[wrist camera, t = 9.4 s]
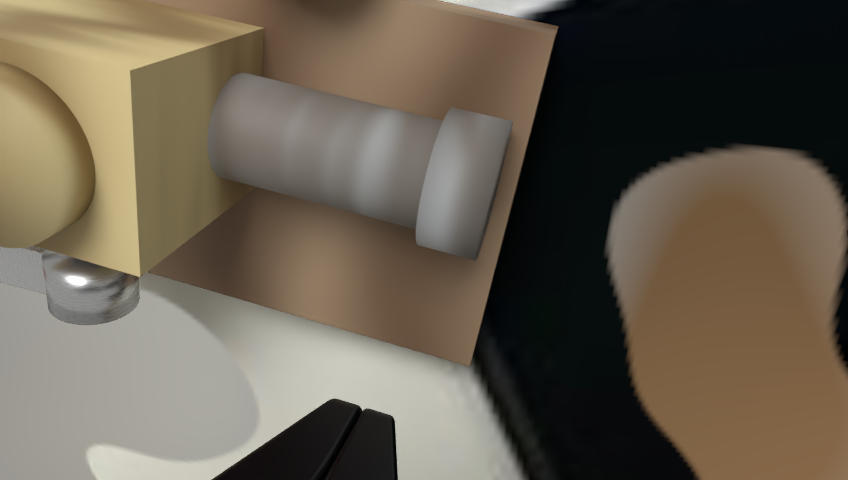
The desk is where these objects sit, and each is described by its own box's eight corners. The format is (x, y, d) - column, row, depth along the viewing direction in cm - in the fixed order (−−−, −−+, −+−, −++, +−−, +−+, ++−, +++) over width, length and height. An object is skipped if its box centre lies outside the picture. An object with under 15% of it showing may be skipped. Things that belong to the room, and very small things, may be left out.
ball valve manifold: (558, 26, 18) (529, 100, 10) (477, 341, 23) (419, 540, 16) (49, -84, 20) (-274, -87, 13) (80, 227, 25) (-137, 354, 18)
